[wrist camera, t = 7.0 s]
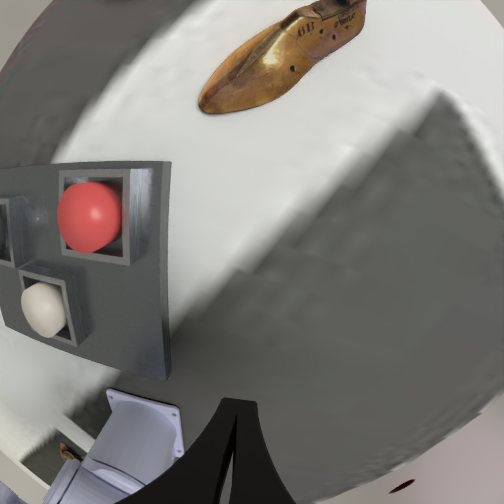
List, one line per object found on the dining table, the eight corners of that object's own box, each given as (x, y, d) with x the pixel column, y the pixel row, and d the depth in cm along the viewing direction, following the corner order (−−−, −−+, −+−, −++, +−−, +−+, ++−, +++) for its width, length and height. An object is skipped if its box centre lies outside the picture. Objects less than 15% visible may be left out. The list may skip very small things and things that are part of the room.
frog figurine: (44, 427, 31) (34, 440, 27) (102, 455, 30) (93, 472, 27) (64, 460, 34) (56, 472, 30) (116, 484, 34) (110, 499, 30)
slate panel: (171, 370, 23) (160, 392, 20) (13, 320, 24) (-3, 331, 21) (171, 161, 18) (153, 160, 15) (-6, 170, 19) (-26, 173, 16)
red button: (128, 246, 18) (110, 257, 16) (79, 240, 18) (59, 249, 16) (129, 181, 17) (109, 183, 15) (78, 180, 17) (56, 183, 15)
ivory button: (77, 329, 21) (61, 343, 18) (43, 317, 21) (27, 330, 18) (69, 282, 19) (50, 294, 17) (35, 274, 20) (16, 284, 17)
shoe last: (188, 90, 17) (164, 70, 12) (344, 0, 14) (358, -33, 9) (225, 136, 18) (208, 126, 13) (382, 41, 15) (406, 15, 10)
